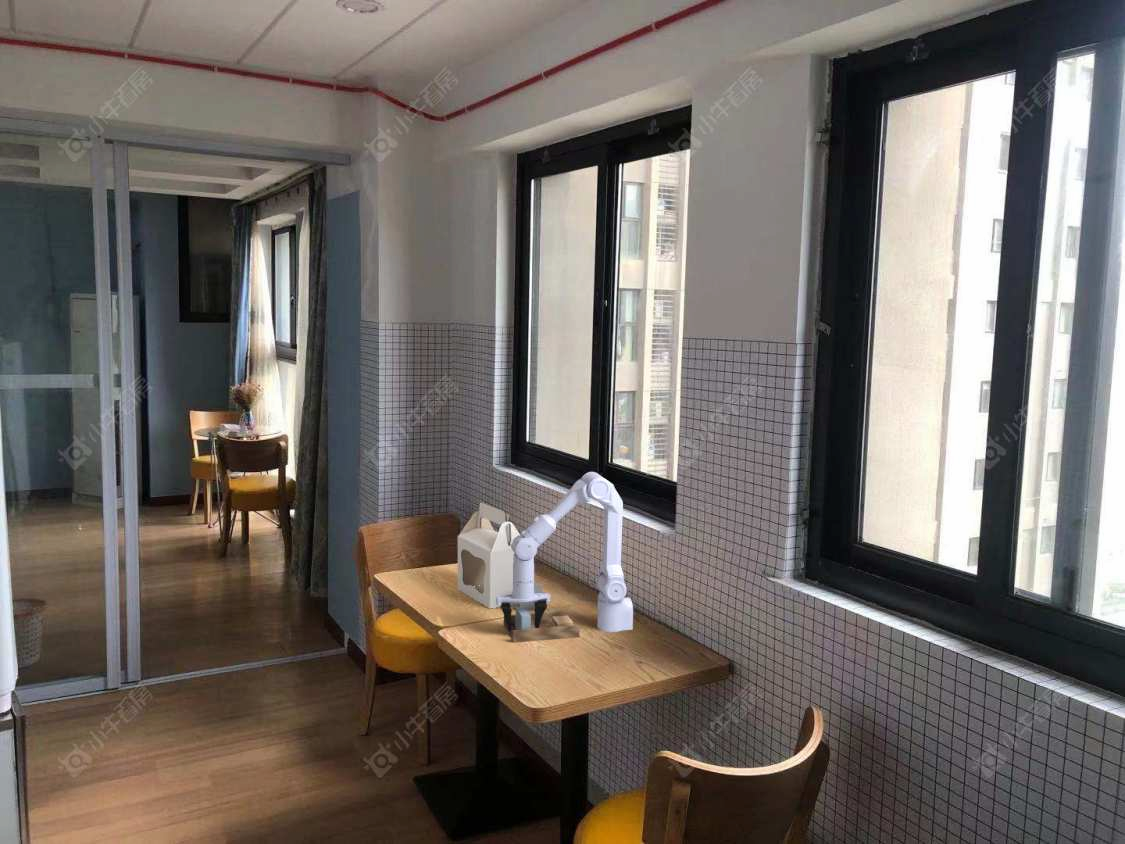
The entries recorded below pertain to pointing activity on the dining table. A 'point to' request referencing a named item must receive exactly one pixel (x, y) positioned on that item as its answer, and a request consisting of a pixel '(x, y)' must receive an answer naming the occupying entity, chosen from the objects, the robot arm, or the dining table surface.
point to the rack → (542, 629)
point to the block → (522, 619)
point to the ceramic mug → (531, 605)
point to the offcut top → (562, 621)
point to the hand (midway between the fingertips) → (522, 628)
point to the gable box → (486, 556)
